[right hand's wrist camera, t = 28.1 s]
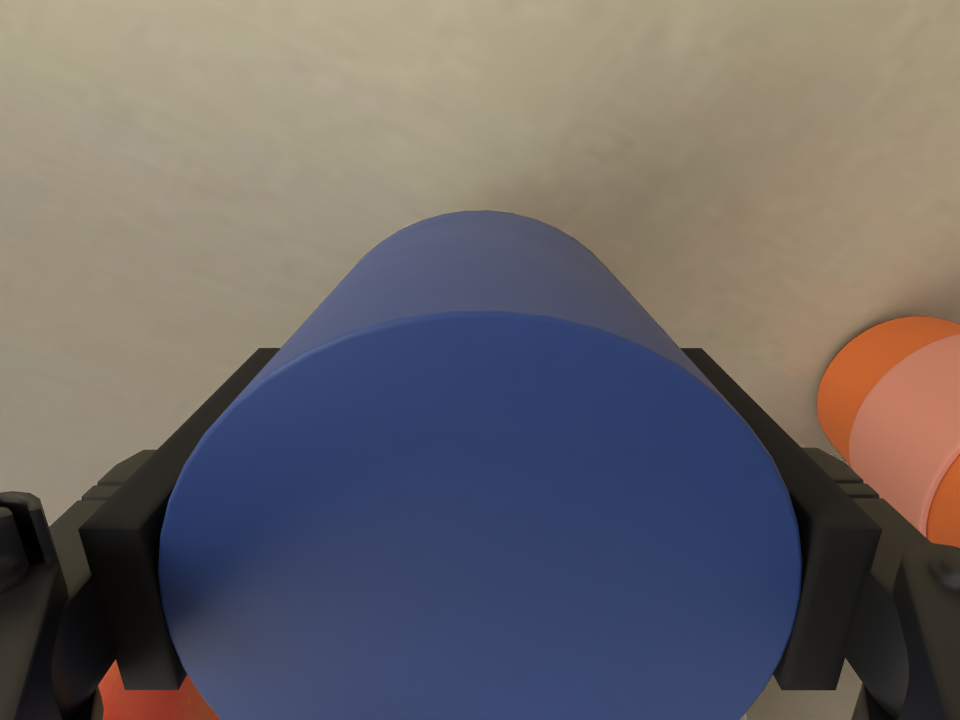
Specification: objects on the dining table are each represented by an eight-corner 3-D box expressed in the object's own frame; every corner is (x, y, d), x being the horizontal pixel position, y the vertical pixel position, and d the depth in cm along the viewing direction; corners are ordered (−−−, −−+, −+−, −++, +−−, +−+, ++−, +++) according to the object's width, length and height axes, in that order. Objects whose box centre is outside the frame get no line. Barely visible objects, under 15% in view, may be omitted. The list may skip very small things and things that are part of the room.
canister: (643, 195, 14) (848, 280, 6) (638, 497, 17) (773, 809, 9) (291, 225, 14) (62, 344, 7) (348, 517, 18) (239, 839, 10)
